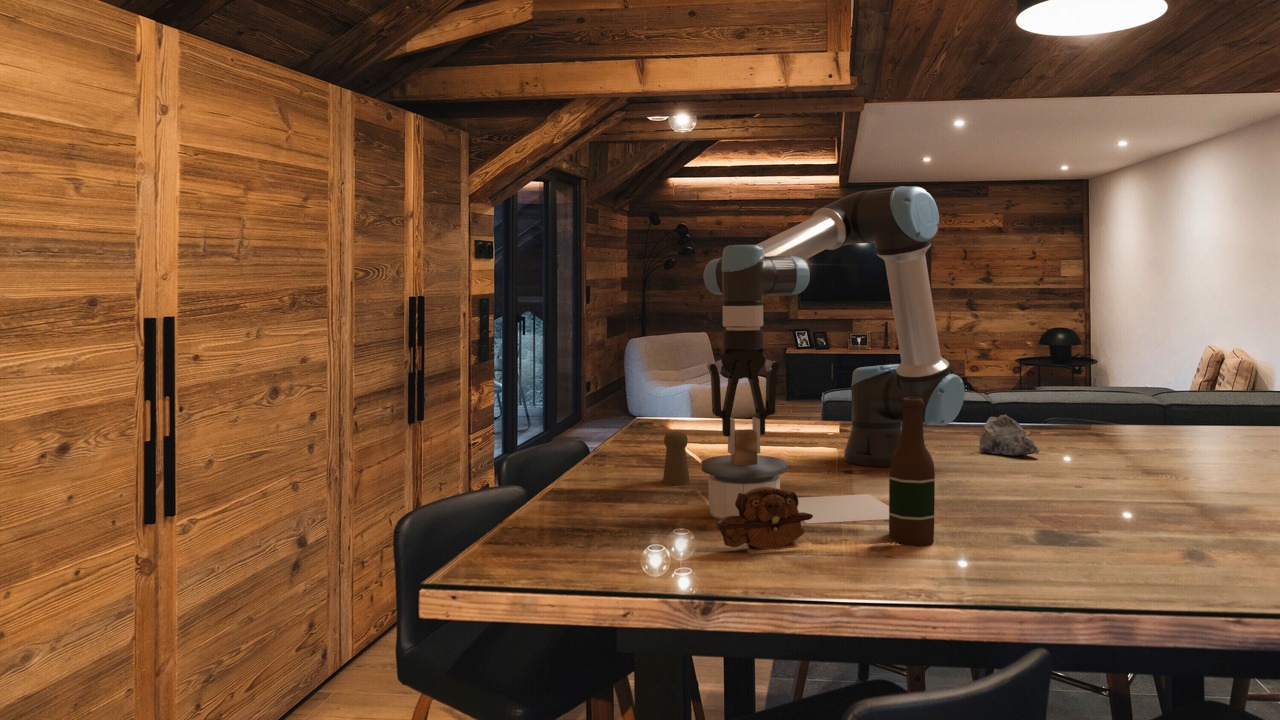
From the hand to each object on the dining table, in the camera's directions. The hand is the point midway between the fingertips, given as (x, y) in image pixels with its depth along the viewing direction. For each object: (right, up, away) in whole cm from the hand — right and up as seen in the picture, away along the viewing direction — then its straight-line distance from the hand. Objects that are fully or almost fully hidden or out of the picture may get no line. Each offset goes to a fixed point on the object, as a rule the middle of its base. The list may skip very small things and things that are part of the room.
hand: (743, 452), depth 173 cm
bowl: (0, -12, +1) cm, 12 cm away
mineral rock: (+70, -6, +52) cm, 88 cm away
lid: (0, -3, 0) cm, 3 cm away
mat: (+18, -11, +1) cm, 22 cm away
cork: (-12, -10, +29) cm, 32 cm away
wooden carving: (+1, -14, -22) cm, 26 cm away
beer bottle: (+26, -13, -19) cm, 35 cm away
